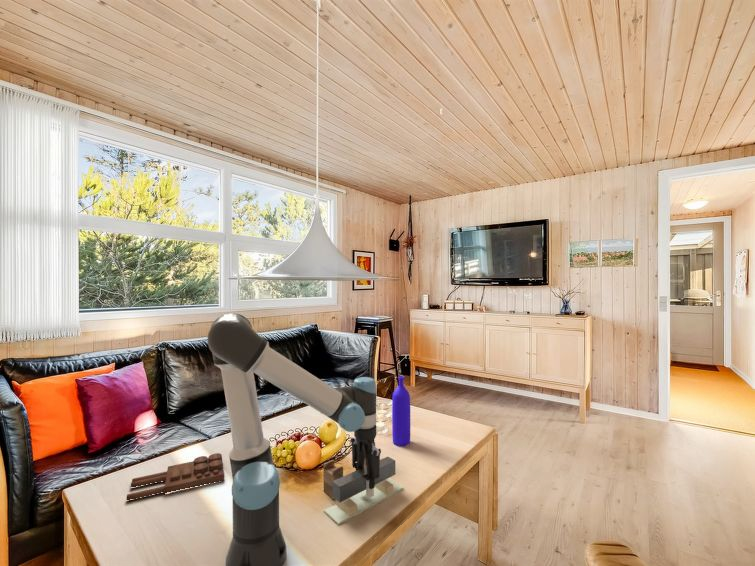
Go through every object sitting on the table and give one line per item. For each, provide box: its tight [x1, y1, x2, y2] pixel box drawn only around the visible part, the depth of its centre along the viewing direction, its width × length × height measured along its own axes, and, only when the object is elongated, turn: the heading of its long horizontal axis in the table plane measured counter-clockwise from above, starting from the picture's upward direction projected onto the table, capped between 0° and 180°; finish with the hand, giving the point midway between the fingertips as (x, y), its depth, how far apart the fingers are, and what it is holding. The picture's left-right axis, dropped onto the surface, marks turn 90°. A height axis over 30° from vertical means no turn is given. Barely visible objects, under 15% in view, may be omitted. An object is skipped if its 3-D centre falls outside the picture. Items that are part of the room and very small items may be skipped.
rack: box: [323, 459, 366, 500], centre depth 128 cm, size 20×6×10 cm, turn 131°
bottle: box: [391, 375, 411, 447], centre depth 161 cm, size 8×8×30 cm
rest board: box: [323, 478, 404, 526], centre depth 119 cm, size 28×8×3 cm, turn 131°
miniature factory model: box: [125, 452, 225, 500], centre depth 131 cm, size 16×5×30 cm
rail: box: [333, 456, 396, 502], centre depth 119 cm, size 24×4×5 cm, turn 131°
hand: (365, 493), depth 119 cm, fingers closed on rail, 4 cm apart
